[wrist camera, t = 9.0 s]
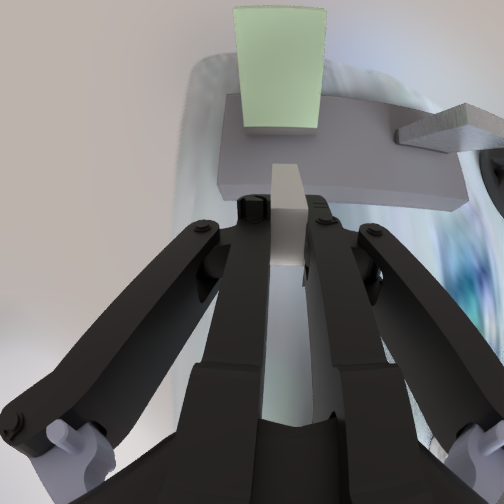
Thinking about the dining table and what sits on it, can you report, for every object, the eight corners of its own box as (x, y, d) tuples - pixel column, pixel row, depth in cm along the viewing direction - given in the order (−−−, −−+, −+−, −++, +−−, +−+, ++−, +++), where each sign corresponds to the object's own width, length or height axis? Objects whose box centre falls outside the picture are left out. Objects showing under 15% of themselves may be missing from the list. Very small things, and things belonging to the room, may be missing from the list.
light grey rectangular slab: (443, 154, 25) (522, 147, 12) (394, 145, 25) (468, 125, 12) (442, 140, 24) (520, 126, 11) (393, 130, 25) (465, 101, 12)
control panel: (451, 211, 27) (469, 200, 24) (223, 200, 30) (217, 184, 26) (432, 132, 30) (444, 116, 26) (231, 114, 32) (226, 94, 28)
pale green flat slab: (315, 139, 25) (327, 11, 14) (244, 138, 26) (232, 9, 14) (313, 130, 26) (323, 8, 15) (246, 128, 27) (235, 6, 15)
